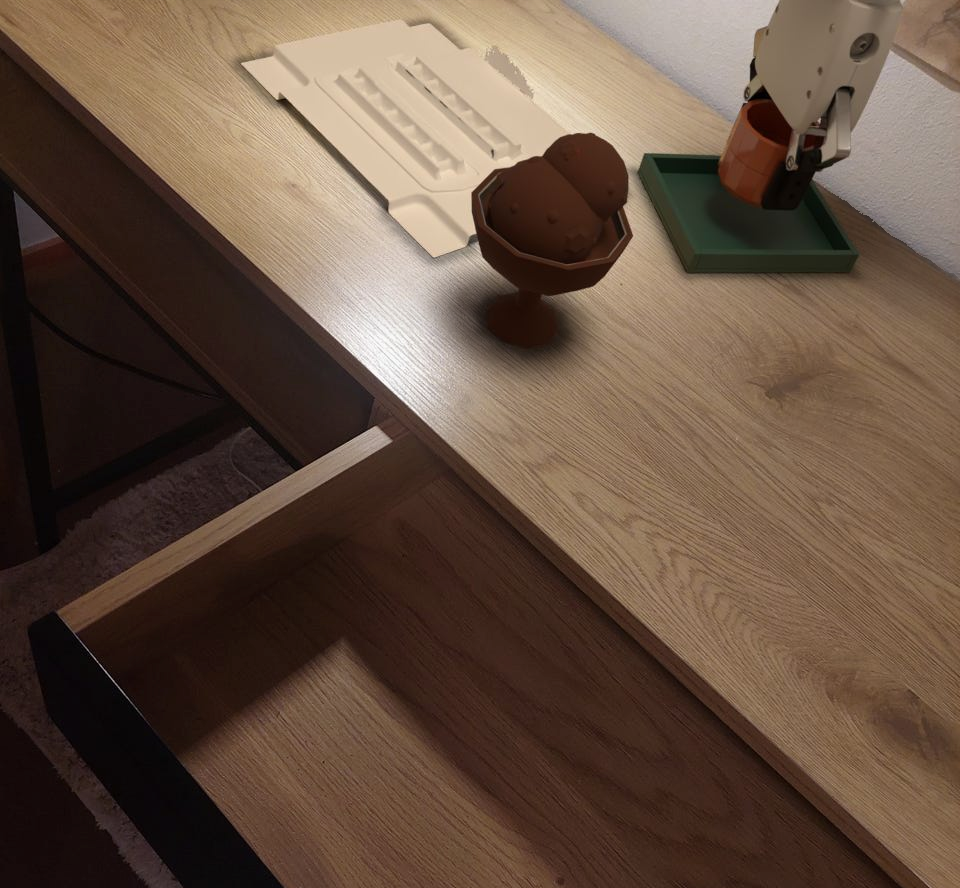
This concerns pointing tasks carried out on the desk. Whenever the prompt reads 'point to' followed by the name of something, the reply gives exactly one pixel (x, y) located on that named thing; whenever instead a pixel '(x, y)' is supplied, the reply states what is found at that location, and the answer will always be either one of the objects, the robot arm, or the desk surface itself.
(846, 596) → the desk surface
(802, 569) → the desk surface
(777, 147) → the small cup
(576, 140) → the ice cream bowl
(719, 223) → the green tray
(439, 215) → the tray
